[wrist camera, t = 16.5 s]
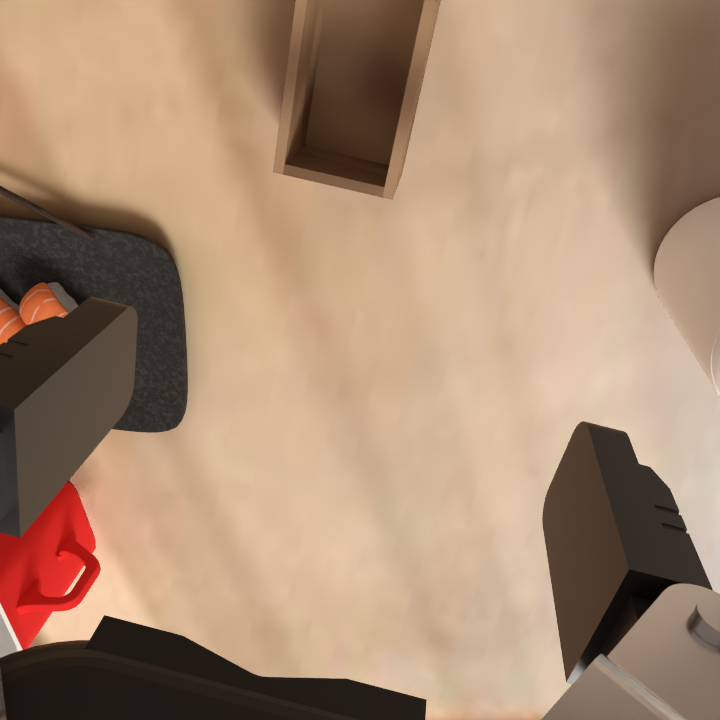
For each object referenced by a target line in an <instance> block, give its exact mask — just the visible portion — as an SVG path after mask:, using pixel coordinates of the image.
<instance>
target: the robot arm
mask: <svg viewBox="0 0 720 720" xmlns="http://www.w3.org/2000/svg"><path fill="white" fill-rule="evenodd" d="M137 324H138V318H137V312H136V310H135V308H134V307H131V306H127V305H123V304H119V303H115V302H111V301H107V300H103V299H99V298H95V297H90V298H88V299H87V300H85V301H84V302H83V303H82V304H80V305H79V306H78V307H76V308H75V309H74V310H73V311H71V312H70V313H69V314H67V315H66V316H65V317H64V318H62V317H58V316H53V317H50V318H47V319H44V320H41V321H38V322H35V323H32V324H29V325H26V326H25V327H24V328H22V329H21V330H20V331H18V332H17V333H15V334H14V335H13V336H11V337H10V338H9V339H8V341H7V343H6V342H3V343H2V344H0V533H3V534H7V535H10V536H14V537H18V538H21V537H22V535H23V534H24V533H25V532H26V531H27V529H28V528H29V527H30V526H31V525H32V523H33V522H34V521H35V520H36V519H37V518H38V516H39V515H40V514H41V513H42V512H43V510H44V509H45V508H46V507H47V506H48V504H49V503H50V502H51V501H52V500H53V498H54V497H55V496H56V495H57V494H58V492H59V491H60V490H61V489H62V488H63V486H64V485H65V484H66V483H67V482H68V480H69V479H70V478H71V477H72V476H73V474H74V473H75V472H76V471H77V470H78V468H79V467H80V466H81V465H82V464H83V462H84V461H85V460H86V459H87V458H88V456H89V455H90V454H91V453H92V452H93V450H94V449H95V448H96V447H97V446H98V444H99V443H100V442H101V441H102V440H103V438H104V437H105V436H106V435H107V434H108V432H109V431H110V430H111V429H112V428H113V426H114V425H115V424H116V423H117V422H118V420H119V419H120V418H121V417H122V415H123V414H124V412H125V411H126V409H127V407H128V405H129V402H130V399H131V396H132V392H133V388H134V379H135V360H136V342H137ZM678 514H679V509H678V507H677V505H676V502H675V500H674V497H673V495H672V493H671V490H670V489H669V487H668V486H667V485H666V484H665V483H664V482H663V481H662V480H661V479H660V478H659V476H658V475H657V474H656V473H655V472H654V471H653V470H652V469H651V468H650V467H648V466H644V465H640V464H639V463H638V461H637V458H636V455H635V453H634V450H633V447H632V445H631V442H630V439H629V437H628V435H627V433H626V432H624V431H620V430H616V429H612V428H608V427H604V426H600V425H596V424H592V423H588V422H581V423H579V424H578V426H577V427H576V429H575V430H574V432H573V434H572V437H571V439H570V441H569V443H568V446H567V448H566V450H565V453H564V455H563V457H562V459H561V462H560V464H559V466H558V468H557V471H556V473H555V475H554V478H553V480H552V482H551V484H550V487H549V489H548V492H547V495H546V498H545V503H544V508H543V530H544V536H545V543H546V550H547V556H548V563H549V570H550V576H551V583H552V590H553V596H554V603H555V610H556V616H557V623H558V630H559V636H560V643H561V650H562V656H563V663H564V670H565V676H566V683H570V684H572V685H571V687H570V688H569V689H568V690H567V691H566V692H565V693H564V695H563V696H562V697H561V698H560V699H559V700H558V701H557V702H556V704H555V705H554V706H553V707H552V708H551V709H550V710H549V711H548V713H547V714H546V715H545V716H544V717H543V718H542V719H541V720H720V594H718V593H716V592H714V591H713V590H712V587H711V585H710V582H709V580H708V578H707V575H706V573H705V571H704V568H703V566H702V564H701V561H700V559H699V556H698V554H697V552H696V549H695V547H694V545H693V542H692V540H691V538H690V535H689V534H687V533H686V530H687V528H686V526H685V523H684V521H683V519H682V516H681V515H678ZM425 714H426V700H425V699H421V698H418V697H414V696H410V695H406V694H402V693H399V692H395V691H391V690H387V689H383V688H380V687H376V686H372V685H368V684H364V683H360V682H357V681H353V680H349V679H329V678H282V677H261V676H258V675H255V674H252V673H250V672H248V671H246V670H245V669H243V668H241V667H239V666H237V665H235V664H234V663H232V662H230V661H228V660H226V659H224V658H223V657H221V656H219V655H217V654H215V653H213V652H212V651H210V650H208V649H206V648H204V647H202V646H201V645H199V644H197V643H195V642H193V641H191V640H189V639H188V638H186V637H184V636H181V635H177V634H174V633H170V632H166V631H162V630H158V629H155V628H151V627H147V626H143V625H139V624H136V623H132V622H128V621H124V620H120V619H117V618H113V617H109V616H105V615H104V617H103V619H102V620H101V622H100V624H99V625H98V627H97V629H96V631H95V632H94V634H93V636H92V637H91V639H90V640H78V641H66V642H56V643H51V644H45V645H40V646H35V647H31V648H28V649H24V650H21V651H17V652H14V653H11V654H9V655H6V656H3V657H1V658H0V720H425Z"/></svg>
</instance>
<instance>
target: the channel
mask: <svg viewBox="0 0 720 720" xmlns="http://www.w3.org/2000/svg"><path fill="white" fill-rule="evenodd" d="M440 1H441V0H296V1H295V9H294V16H293V24H292V32H291V39H290V47H289V55H288V62H287V70H286V77H285V85H284V93H283V100H282V108H281V116H280V123H279V131H278V138H277V146H276V154H275V161H274V169H273V172H275V173H279V174H283V175H288V176H292V177H296V178H301V179H305V180H309V181H314V182H318V183H322V184H327V185H331V186H335V187H340V188H344V189H348V190H353V191H357V192H361V193H366V194H370V195H374V196H379V197H383V198H387V199H392V200H393V197H394V194H395V192H396V189H397V186H398V184H399V181H400V178H401V176H402V171H403V167H404V162H405V158H406V153H407V149H408V144H409V140H410V135H411V131H412V126H413V122H414V117H415V113H416V108H417V104H418V100H419V95H420V91H421V86H422V82H423V77H424V73H425V68H426V64H427V59H428V55H429V50H430V46H431V41H432V37H433V32H434V28H435V23H436V19H437V14H438V10H439V5H440Z"/></svg>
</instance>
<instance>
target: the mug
mask: <svg viewBox="0 0 720 720" xmlns="http://www.w3.org/2000/svg"><path fill="white" fill-rule="evenodd" d="M95 548H96V546H95V538H94V536H93V533H92V530H91V528H90V525H89V522H88V520H87V517H86V514H85V511H84V509H83V506H82V503H81V501H80V498H79V495H78V493H77V491H76V490H75V488H74V487H73V486H72V484H70V483H69V482H67V483H66V484H65V485H64V486H63V488H62V489H61V490H60V491H59V492H58V494H57V495H56V496H55V497H54V498H53V500H52V501H51V502H50V503H49V504H48V506H47V507H46V508H45V509H44V510H43V512H42V513H41V514H40V515H39V516H38V518H37V519H36V520H35V521H34V522H33V523H32V525H31V526H30V527H29V528H28V529H27V531H26V532H25V533H24V534H23V535H22V537H21V538H18V537H14V536H10V535H7V534H3V533H0V658H1V657H3V656H6V655H9V654H11V653H14V652H17V651H21V650H24V649H28V648H29V646H30V644H31V643H32V641H33V640H34V638H35V637H36V635H37V634H38V632H39V631H40V629H41V628H42V626H43V625H44V623H45V622H46V621H47V619H48V618H49V616H50V615H51V613H52V612H53V611H66V610H70V609H72V608H74V607H76V606H77V605H78V604H79V603H80V602H81V601H82V600H83V598H84V597H85V595H86V594H87V592H88V591H89V589H90V588H91V586H92V585H93V583H94V582H95V580H96V578H97V577H98V575H99V573H100V569H101V568H100V564H99V562H98V560H97V559H96V557H95V556H94V555H93V554H92V553H93V551H94V550H95ZM84 565H85V566H86V568H85V571H84V572H83V574H82V575H81V577H80V578H79V580H78V582H77V583H76V585H75V586H74V588H73V590H72V591H71V592H70V593H69V594H67V595H65V596H64V594H65V593H66V591H67V590H68V588H69V587H70V585H71V584H72V582H73V581H74V579H75V578H76V576H77V575H78V573H79V572H80V571H81V569H82V568H83V566H84Z"/></svg>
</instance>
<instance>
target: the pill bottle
mask: <svg viewBox="0 0 720 720" xmlns="http://www.w3.org/2000/svg"><path fill="white" fill-rule="evenodd" d="M654 283H655V288H656V291H657V294H658V297H659V300H660V302H661V304H662V305H663V307H664V309H665V310H666V312H667V313H668V315H669V317H670V318H671V320H672V321H673V323H674V325H675V326H676V328H677V329H678V331H679V333H680V334H681V336H682V337H683V339H684V340H685V342H686V344H687V345H688V347H689V348H690V350H691V352H692V353H693V355H694V356H695V358H696V360H697V361H698V363H699V364H700V366H701V368H702V369H703V371H704V372H705V374H706V376H707V377H708V379H709V380H710V382H711V384H712V385H713V387H714V388H715V390H716V391H717V393H718V394H719V396H720V197H718V198H715V199H712V200H710V201H707V202H705V203H703V204H701V205H699V206H697V207H695V208H694V209H692V210H691V211H689V212H688V213H687V214H685V215H684V216H683V217H682V218H681V219H679V220H678V221H677V222H676V223H675V224H674V226H673V227H672V228H671V229H670V230H669V232H668V233H667V234H666V236H665V237H664V239H663V241H662V243H661V245H660V247H659V249H658V252H657V255H656V259H655V264H654Z"/></svg>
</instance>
